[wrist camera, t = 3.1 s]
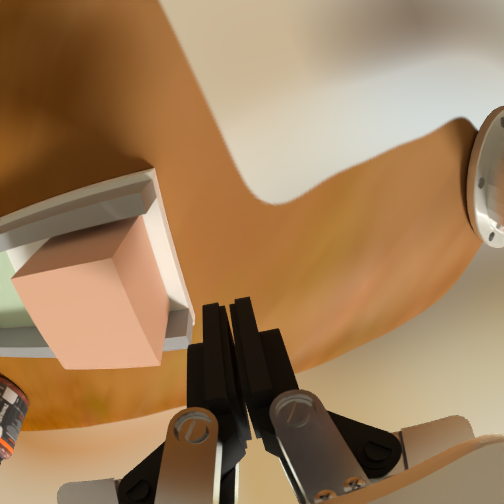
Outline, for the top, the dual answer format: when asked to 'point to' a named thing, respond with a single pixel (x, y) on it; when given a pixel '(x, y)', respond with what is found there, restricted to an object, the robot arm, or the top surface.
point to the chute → (79, 217)
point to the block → (98, 296)
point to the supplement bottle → (10, 416)
